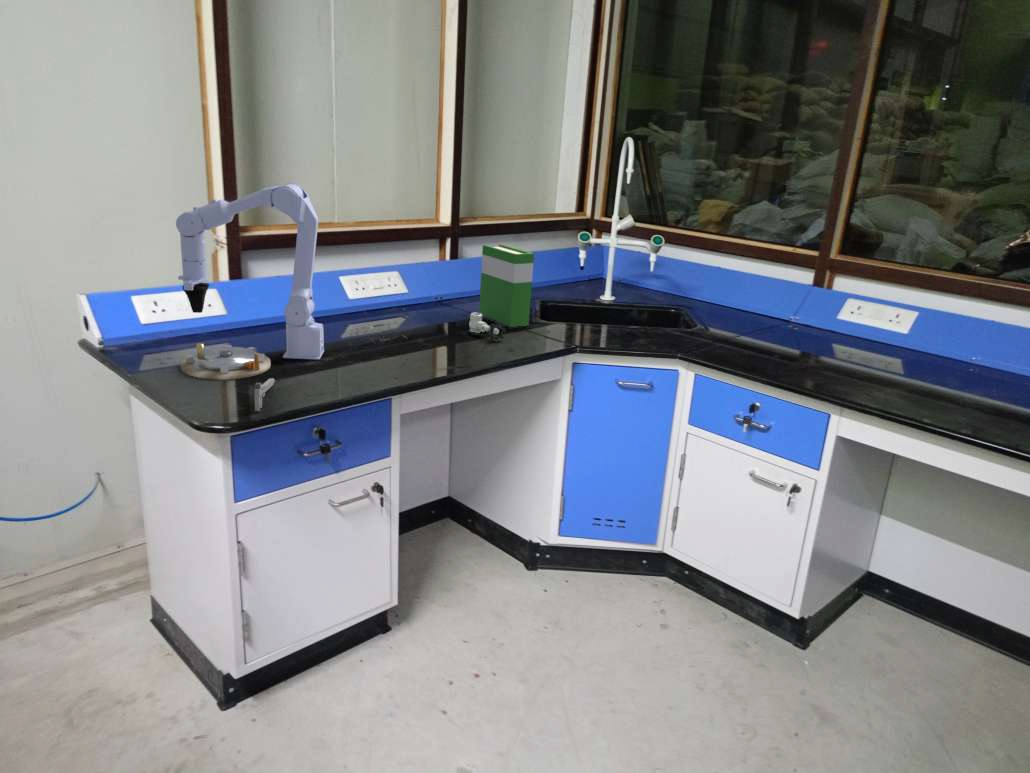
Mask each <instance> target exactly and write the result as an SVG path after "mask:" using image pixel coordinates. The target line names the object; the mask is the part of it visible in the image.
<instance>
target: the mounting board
mask: <svg viewBox="0 0 1030 773" xmlns="http://www.w3.org/2000/svg"><path fill="white" fill-rule="evenodd" d="M257 353H258V354H254V357H255V368H253V369H247V368H244V369H238V370H229V373H221V371H216V370H207V369H203V370H200V371H198V370H195V369H194V364H193V363H187V362H186V358H184V359H183V360H182V361H181V362H180V370H181V372H182V373H183V374H185V375H187V376H189V377H192V376H193V377H192V378H196V377H197V379H201V378H202V379H203V380H212V381H218V380H219V381H225V380H226V381H228V380H238V379H239V380H240V379H247V378H250V377H254V376H258V375H261V374H263V373H265V372H267V371H268V370H270V368H271V366H272V364H271V362H272V361H271V358H269V357H268V356H267V355H265V361H260V362H259V354H261V353H260V352H257ZM202 379H201V380H202Z"/></svg>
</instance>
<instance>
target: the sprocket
mask: <svg viewBox="0 0 1030 773" xmlns="http://www.w3.org/2000/svg"><path fill="white" fill-rule="evenodd" d="M258 353H259V352H257V347H253V346H250V347H242V346H240V347H239V346H232V344H224V345H223V346H218V347H212V348H211V347H210V348H206V347H205V343H204V342H198V343H196V353H194V354H187V355H186V358H185V359H186V362H187V363H193V364H194V369H195V370H198V371H200V370H203V369H207V370H216V371H221V373H229V370H238V369H244V368H247V369H253V368H255V357H254V354H258ZM265 356H266V355H265V353H260V354H259V362H260V361H265Z"/></svg>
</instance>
